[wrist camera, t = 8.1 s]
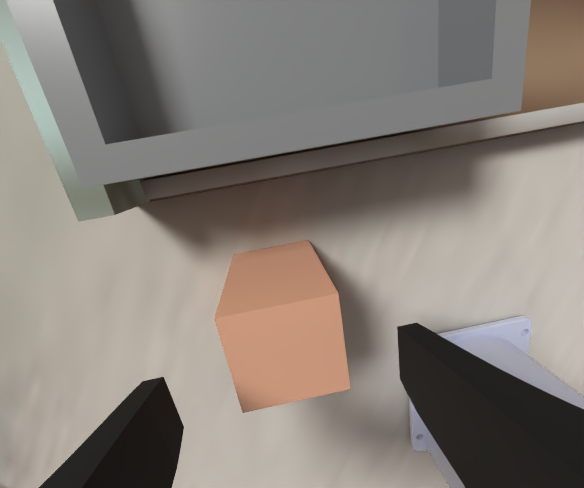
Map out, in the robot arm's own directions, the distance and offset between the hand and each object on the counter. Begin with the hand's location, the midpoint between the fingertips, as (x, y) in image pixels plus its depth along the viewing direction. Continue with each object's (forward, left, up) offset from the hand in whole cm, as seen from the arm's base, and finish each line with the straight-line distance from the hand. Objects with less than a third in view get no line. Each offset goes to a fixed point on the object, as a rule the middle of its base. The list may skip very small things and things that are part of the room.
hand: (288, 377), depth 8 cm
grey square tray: (+12, -2, -6) cm, 14 cm away
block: (0, 0, -7) cm, 7 cm away
